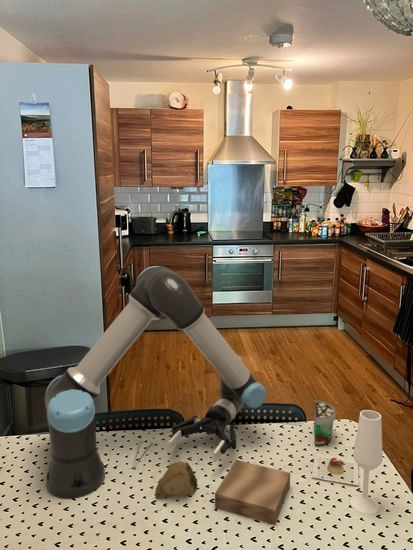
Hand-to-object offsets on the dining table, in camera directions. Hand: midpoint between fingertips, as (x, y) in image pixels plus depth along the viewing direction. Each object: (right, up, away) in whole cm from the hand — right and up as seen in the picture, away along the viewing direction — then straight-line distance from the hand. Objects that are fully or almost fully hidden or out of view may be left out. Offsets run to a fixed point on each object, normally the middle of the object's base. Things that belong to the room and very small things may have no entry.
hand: (191, 451), depth 126 cm
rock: (-4, -8, -7) cm, 11 cm away
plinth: (+16, -8, -9) cm, 20 cm away
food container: (+41, -3, +17) cm, 44 cm away
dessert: (+40, -6, +1) cm, 40 cm away
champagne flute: (+43, -8, -12) cm, 46 cm away
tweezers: (-16, -5, +8) cm, 18 cm away
